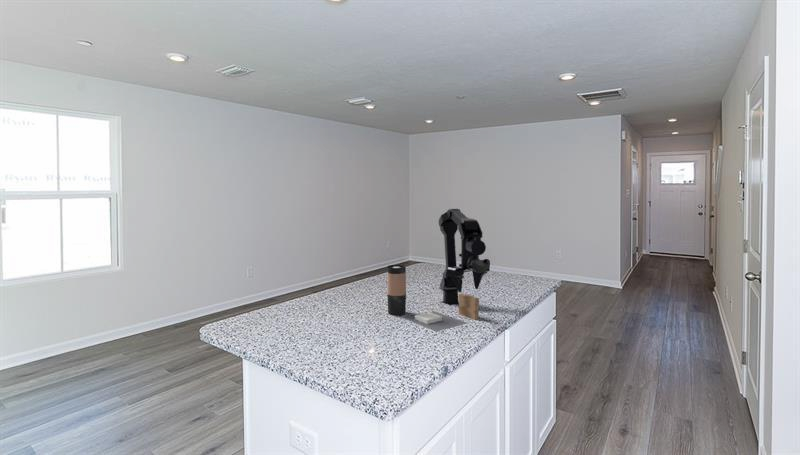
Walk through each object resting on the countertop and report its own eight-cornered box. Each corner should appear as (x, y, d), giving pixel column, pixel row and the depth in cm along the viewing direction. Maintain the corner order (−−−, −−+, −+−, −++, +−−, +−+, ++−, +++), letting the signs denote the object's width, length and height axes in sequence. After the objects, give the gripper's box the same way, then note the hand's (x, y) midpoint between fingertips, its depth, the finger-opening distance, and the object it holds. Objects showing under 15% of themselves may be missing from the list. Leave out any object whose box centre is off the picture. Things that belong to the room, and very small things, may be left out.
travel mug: (409, 312, 177) (408, 265, 175) (401, 317, 170) (401, 268, 168) (392, 310, 180) (392, 264, 178) (384, 315, 173) (383, 267, 172)
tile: (429, 315, 171) (414, 319, 166) (429, 312, 171) (414, 315, 166) (441, 320, 165) (427, 324, 160) (441, 316, 165) (427, 320, 160)
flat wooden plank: (458, 315, 173) (458, 294, 172) (462, 314, 174) (462, 293, 173) (474, 321, 166) (475, 298, 165) (478, 320, 167) (478, 297, 166)
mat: (403, 319, 168) (402, 318, 168) (433, 312, 178) (433, 311, 178) (436, 332, 152) (436, 331, 152) (467, 324, 162) (468, 323, 162)
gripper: (466, 256, 155) (465, 298, 157) (500, 251, 166) (499, 291, 168) (445, 252, 164) (445, 292, 166) (479, 248, 175) (479, 286, 177)
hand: (468, 290), depth 169 cm, fingers open, 9 cm apart
